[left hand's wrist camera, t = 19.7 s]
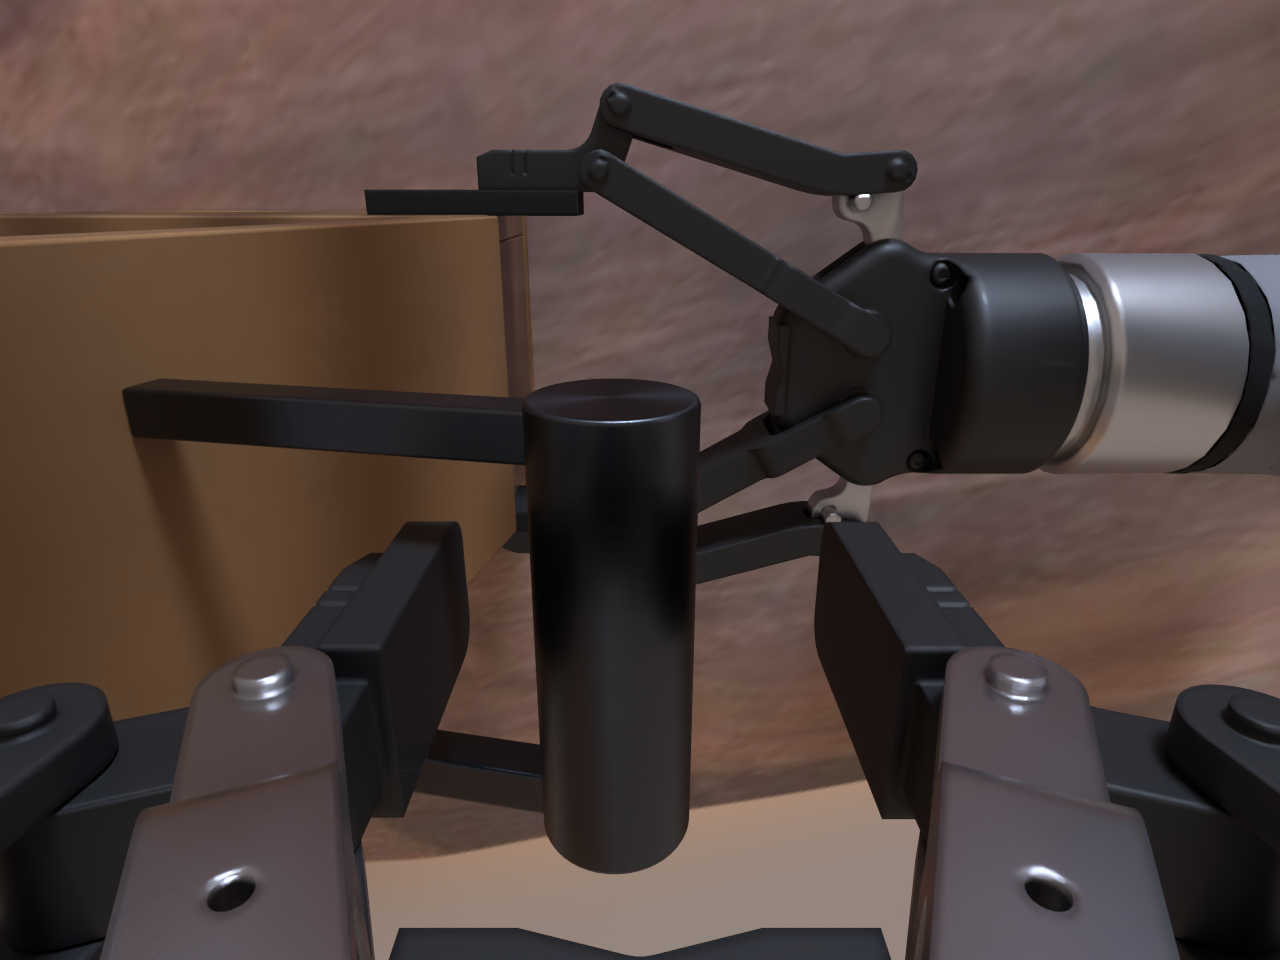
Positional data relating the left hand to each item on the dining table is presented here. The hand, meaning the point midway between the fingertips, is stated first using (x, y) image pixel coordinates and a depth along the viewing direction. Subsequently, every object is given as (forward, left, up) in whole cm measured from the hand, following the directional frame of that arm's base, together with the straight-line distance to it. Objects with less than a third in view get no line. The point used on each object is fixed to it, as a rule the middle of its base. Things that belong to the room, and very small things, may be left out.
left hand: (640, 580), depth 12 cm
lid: (-6, +3, -5) cm, 9 cm away
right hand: (-7, +4, -16) cm, 18 cm away
